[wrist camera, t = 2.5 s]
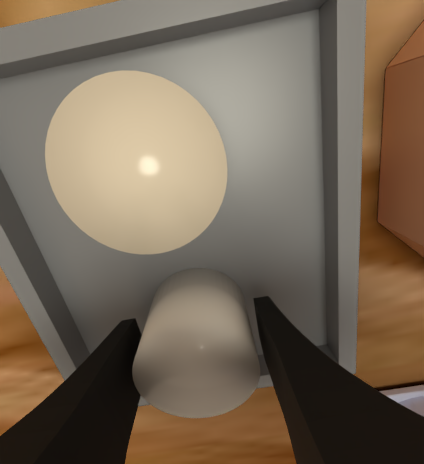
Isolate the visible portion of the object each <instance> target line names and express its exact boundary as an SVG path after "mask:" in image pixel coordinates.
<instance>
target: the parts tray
mask: <svg viewBox="0 0 424 464" xmlns="http://www.w3.org/2000/svg"><path fill="white" fill-rule="evenodd" d="M365 29H366V0H121V1H116V2H112V3H107V4H103V5H99V6H94V7H90V8H86V9H81V10H77V11H73V12H68V13H64V14H60V15H55V16H51V17H46V18H42V19H38V20H33V21H29V22H25V23H20V24H16V25H12V26H7V27H3V28H0V266H1V268H2V270H3V271H4V273H5V275H6V277H7V279H8V280H9V282H10V284H11V286H12V287H13V289H14V291H15V293H16V295H17V296H18V298H19V300H20V302H21V304H22V305H23V307H24V309H25V311H26V312H27V314H28V316H29V318H30V320H31V321H32V323H33V325H34V327H35V328H36V330H37V332H38V334H39V336H40V337H41V339H42V341H43V343H44V345H45V346H46V348H47V350H48V352H49V353H50V355H51V357H52V359H53V361H54V362H55V364H56V366H57V368H58V369H59V371H60V373H61V375H62V377H63V378H64V380H66V379H67V378H68V377H69V376H70V375H71V374H72V373H73V372H74V371H75V370H76V369H77V368H78V367H79V366H80V365H81V364H82V363H83V362H84V361H85V360H86V359H87V358H88V357H89V356H90V354H91V353H92V352H93V351H94V350H95V349H96V348H97V347H98V346H99V345H100V344H101V342H102V341H103V340H104V339H105V338H106V337H107V336H108V335H109V334H110V332H111V331H112V330H113V329H114V328H115V327H116V326H117V325H118V324H119V323H120V322H121V321H122V320H127V319H133V318H136V321H137V324H138V327H139V329H140V332H141V335H142V333H143V330H144V327H145V324H146V320H147V317H148V314H149V311H150V308H151V304H152V301H153V298H154V295H155V293H156V291H157V289H158V287H159V286H160V285H161V284H162V282H164V281H165V280H166V279H167V278H168V277H170V276H171V275H173V274H175V273H177V272H180V271H182V270H186V269H192V268H206V269H212V270H216V271H218V272H221V273H223V274H225V275H227V276H228V277H230V278H231V279H232V280H233V281H234V282H235V283H236V284H237V285H238V286H239V288H240V289H241V291H242V293H243V295H244V299H245V303H246V307H247V312H248V316H249V320H250V325H251V329H252V334H253V338H254V342H255V347H256V351H257V355H258V360H259V364H260V379H259V382H258V385H257V387H256V388H263V387H269V386H274V385H273V382H272V380H271V377H270V374H269V371H268V368H267V365H266V362H265V359H264V355H263V351H262V346H261V342H260V338H259V332H258V326H257V319H256V313H255V306H254V300H253V298H258V297H264V296H269V297H270V298H271V299H272V301H273V302H274V303H275V305H276V306H277V307H278V308H279V310H280V311H281V312H282V313H283V314H284V315H285V316H286V317H287V319H288V320H289V321H290V322H291V323H292V324H293V325H294V326H295V327H296V328H297V329H298V330H299V331H300V332H301V333H302V334H303V335H304V336H305V337H307V338H308V339H309V340H310V341H311V342H312V343H313V344H314V345H315V346H317V347H318V348H319V349H320V350H321V351H323V352H324V353H325V354H326V355H327V356H329V357H330V358H331V359H333V360H334V361H335V362H336V363H338V364H339V365H340V366H342V367H343V368H345V369H346V370H347V371H349V372H350V373H352V374H355V373H356V345H357V310H358V275H359V240H360V205H361V170H362V135H363V100H364V64H365ZM121 70H124V71H140V72H146V73H150V74H154V75H157V76H160V77H163V78H165V79H167V80H169V81H171V82H173V83H175V84H176V85H178V86H180V87H181V88H183V89H184V90H186V91H187V92H188V93H189V94H190V95H191V96H193V97H194V98H195V99H196V100H197V101H198V102H199V103H200V104H201V105H202V107H203V108H204V109H205V110H206V111H207V113H208V114H209V116H210V117H211V119H212V120H213V122H214V124H215V126H216V128H217V129H218V131H219V134H220V136H221V139H222V142H223V145H224V149H225V153H226V158H227V185H226V191H225V195H224V198H223V201H222V204H221V206H220V208H219V211H218V213H217V214H216V216H215V217H214V219H213V221H212V222H211V223H210V224H209V226H208V227H207V228H206V229H205V230H204V231H203V232H202V233H201V234H200V235H199V236H198V237H196V238H195V239H194V240H192V241H191V242H189V243H187V244H186V245H184V246H182V247H180V248H177V249H174V250H172V251H168V252H164V253H159V254H133V253H127V252H123V251H119V250H116V249H113V248H110V247H108V246H106V245H104V244H102V243H100V242H98V241H96V240H95V239H93V238H91V237H90V236H88V235H87V234H86V233H85V232H83V231H82V230H81V229H80V228H79V227H78V226H77V225H76V224H75V223H74V222H73V221H72V220H71V219H70V218H69V217H68V215H67V214H66V213H65V212H64V210H63V209H62V207H61V205H60V204H59V202H58V201H57V199H56V196H55V194H54V192H53V190H52V187H51V185H50V182H49V179H48V174H47V169H46V161H45V143H46V137H47V132H48V128H49V126H50V123H51V120H52V117H53V116H54V114H55V112H56V110H57V108H58V107H59V105H60V104H61V102H62V101H63V100H64V98H65V97H66V96H67V95H68V94H69V93H70V92H71V91H72V90H73V89H75V88H76V87H77V86H79V85H80V84H82V83H83V82H85V81H87V80H89V79H91V78H93V77H95V76H98V75H101V74H104V73H108V72H114V71H121ZM144 405H151V404H150V403H148V402H147V401H146V400H145V399H144V398H143V397H142V396H141V397H140V400H139V404H138V406H144Z"/></svg>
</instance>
